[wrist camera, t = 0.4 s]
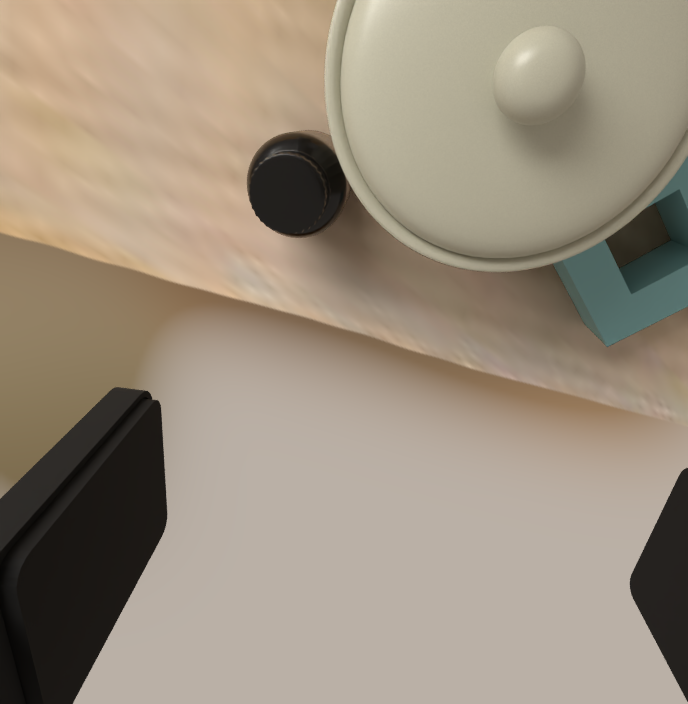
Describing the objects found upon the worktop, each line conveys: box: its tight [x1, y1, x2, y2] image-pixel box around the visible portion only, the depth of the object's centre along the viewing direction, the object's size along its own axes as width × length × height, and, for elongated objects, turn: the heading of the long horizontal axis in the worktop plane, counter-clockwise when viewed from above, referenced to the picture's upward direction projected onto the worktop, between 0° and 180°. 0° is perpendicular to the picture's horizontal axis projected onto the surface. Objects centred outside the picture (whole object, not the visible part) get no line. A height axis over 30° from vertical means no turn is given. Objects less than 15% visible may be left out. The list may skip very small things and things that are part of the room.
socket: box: [553, 156, 688, 347], centre depth 39 cm, size 12×12×5 cm
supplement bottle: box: [247, 130, 351, 238], centre depth 36 cm, size 7×7×12 cm
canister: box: [324, 0, 688, 272], centre depth 29 cm, size 18×18×21 cm
